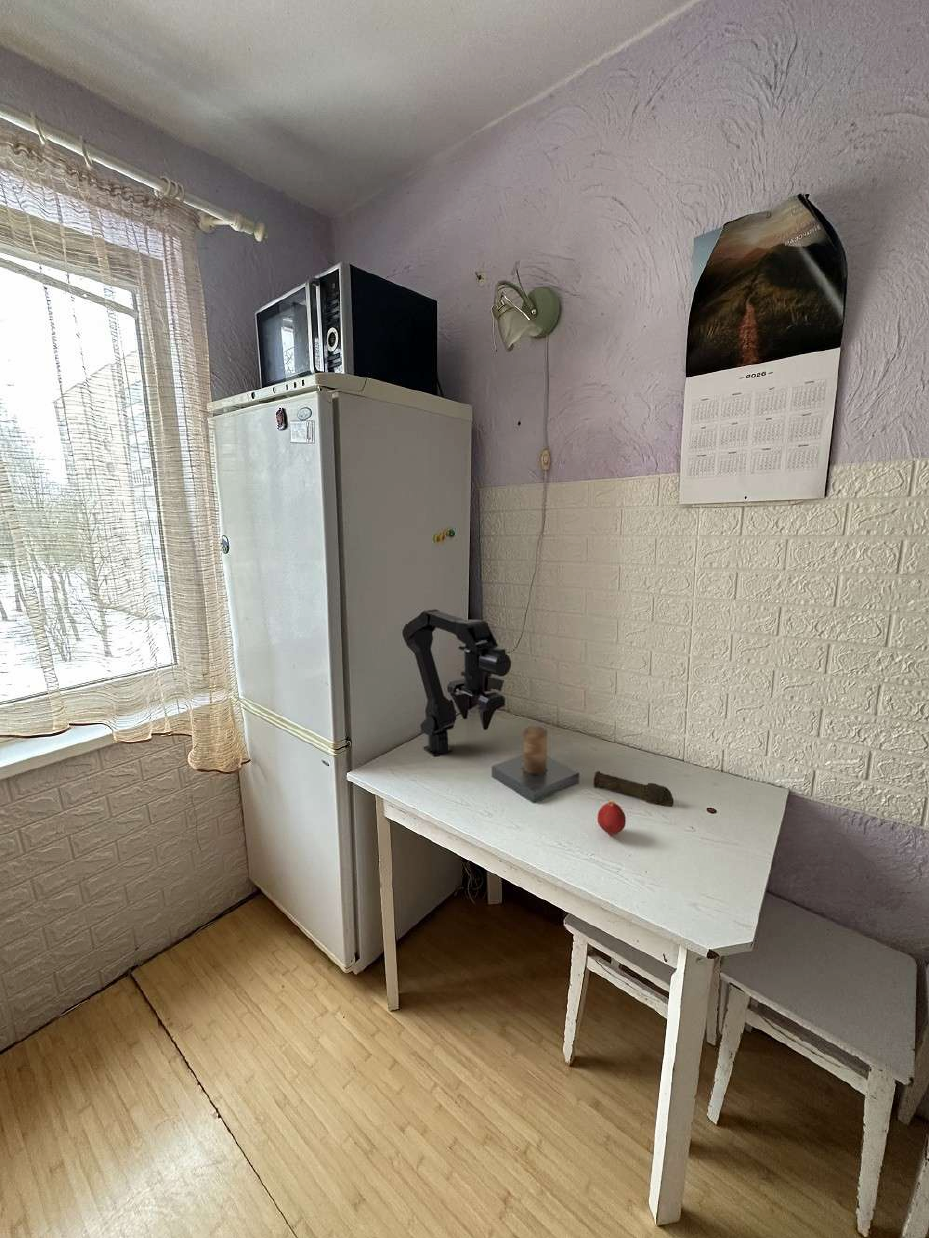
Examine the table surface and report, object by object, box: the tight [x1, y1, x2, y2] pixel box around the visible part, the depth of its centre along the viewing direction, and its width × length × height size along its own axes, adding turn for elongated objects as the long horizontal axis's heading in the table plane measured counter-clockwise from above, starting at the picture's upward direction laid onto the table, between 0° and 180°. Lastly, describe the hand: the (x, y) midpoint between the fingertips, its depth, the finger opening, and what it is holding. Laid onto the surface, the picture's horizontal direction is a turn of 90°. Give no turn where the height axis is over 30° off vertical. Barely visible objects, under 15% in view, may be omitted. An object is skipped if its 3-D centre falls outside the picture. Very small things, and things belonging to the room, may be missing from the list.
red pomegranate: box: [597, 800, 627, 836], centre depth 108 cm, size 6×6×8 cm
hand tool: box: [593, 770, 674, 808], centre depth 123 cm, size 19×4×5 cm, turn 54°
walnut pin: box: [522, 726, 548, 776], centre depth 131 cm, size 6×6×13 cm
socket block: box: [491, 754, 580, 804], centre depth 131 cm, size 16×16×3 cm
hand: (475, 724), depth 135 cm, fingers open, 9 cm apart
